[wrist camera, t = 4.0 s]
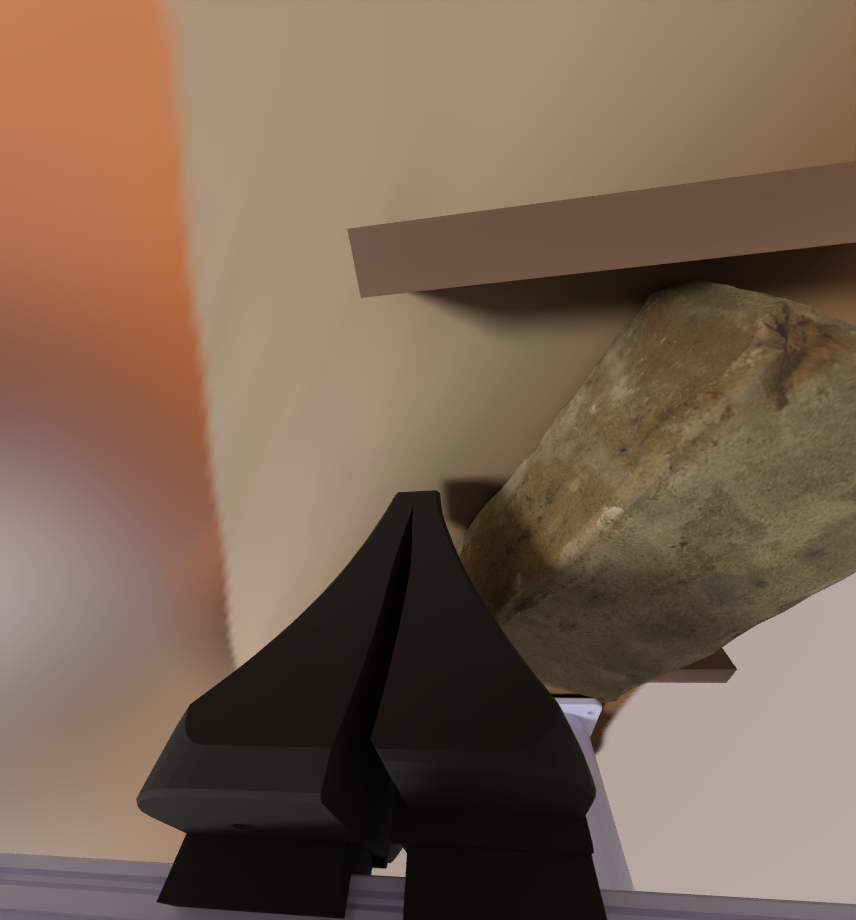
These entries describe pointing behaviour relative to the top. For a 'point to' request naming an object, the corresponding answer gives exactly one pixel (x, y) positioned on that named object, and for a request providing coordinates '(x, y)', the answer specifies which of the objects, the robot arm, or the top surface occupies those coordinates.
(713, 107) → the top surface
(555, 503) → the stone block
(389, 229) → the chute
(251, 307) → the top surface
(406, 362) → the top surface
